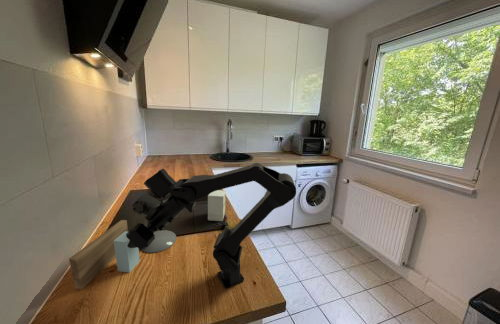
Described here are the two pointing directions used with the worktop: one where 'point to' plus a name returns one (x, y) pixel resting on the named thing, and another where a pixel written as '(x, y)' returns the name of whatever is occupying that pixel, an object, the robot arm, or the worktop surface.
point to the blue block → (125, 254)
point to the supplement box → (216, 205)
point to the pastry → (232, 222)
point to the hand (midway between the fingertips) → (138, 237)
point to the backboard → (95, 255)
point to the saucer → (161, 241)
